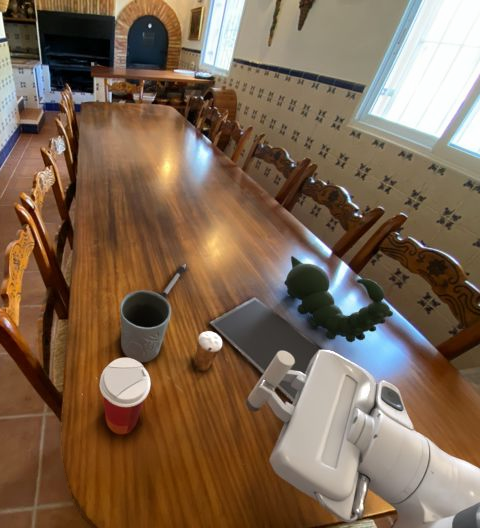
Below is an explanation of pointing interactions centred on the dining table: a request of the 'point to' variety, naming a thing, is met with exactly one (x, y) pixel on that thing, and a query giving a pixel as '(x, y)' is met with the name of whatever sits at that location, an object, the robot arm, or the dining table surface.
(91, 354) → the dining table surface
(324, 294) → the toy figurine
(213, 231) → the dining table surface
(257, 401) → the white cylindrical rod
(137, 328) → the grey embossed cup
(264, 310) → the tablet
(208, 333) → the milkshake
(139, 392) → the paper cup
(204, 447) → the dining table surface
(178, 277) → the pen
